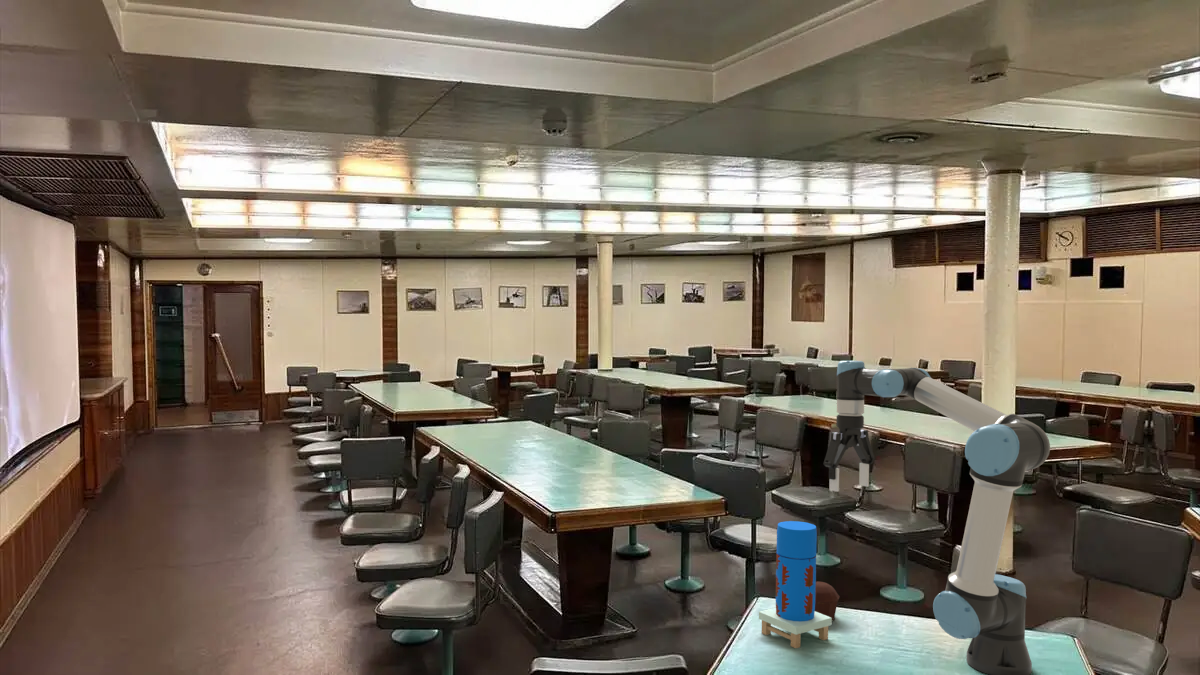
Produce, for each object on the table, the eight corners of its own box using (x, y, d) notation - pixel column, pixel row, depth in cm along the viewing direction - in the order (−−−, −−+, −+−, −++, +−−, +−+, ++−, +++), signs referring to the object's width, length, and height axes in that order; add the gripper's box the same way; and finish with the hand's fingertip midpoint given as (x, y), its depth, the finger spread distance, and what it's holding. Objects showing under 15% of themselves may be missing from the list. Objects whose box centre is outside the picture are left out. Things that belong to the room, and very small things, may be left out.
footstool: (831, 639, 231) (831, 617, 231) (795, 649, 223) (796, 627, 223) (793, 623, 243) (793, 603, 242) (758, 632, 235) (758, 611, 235)
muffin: (843, 624, 243) (844, 590, 242) (805, 623, 243) (806, 589, 243) (833, 610, 254) (833, 577, 254) (796, 609, 255) (797, 576, 255)
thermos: (812, 609, 237) (813, 521, 237) (818, 622, 227) (819, 531, 226) (773, 607, 239) (775, 520, 238) (777, 620, 228) (779, 529, 227)
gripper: (865, 411, 250) (865, 481, 250) (811, 415, 235) (810, 490, 235) (887, 413, 243) (886, 485, 244) (832, 417, 229) (832, 495, 229)
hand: (849, 488), depth 239 cm, fingers open, 13 cm apart
